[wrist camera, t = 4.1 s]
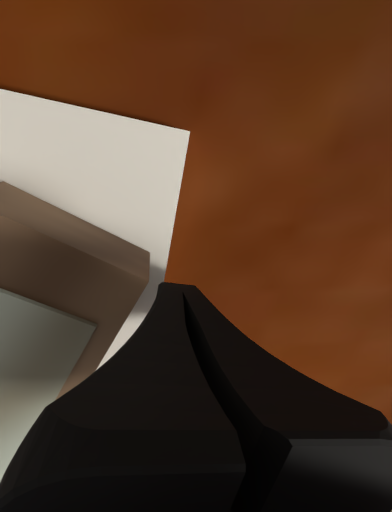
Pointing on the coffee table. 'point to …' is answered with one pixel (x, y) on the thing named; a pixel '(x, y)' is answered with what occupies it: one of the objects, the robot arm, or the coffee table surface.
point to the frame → (56, 305)
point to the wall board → (98, 176)
